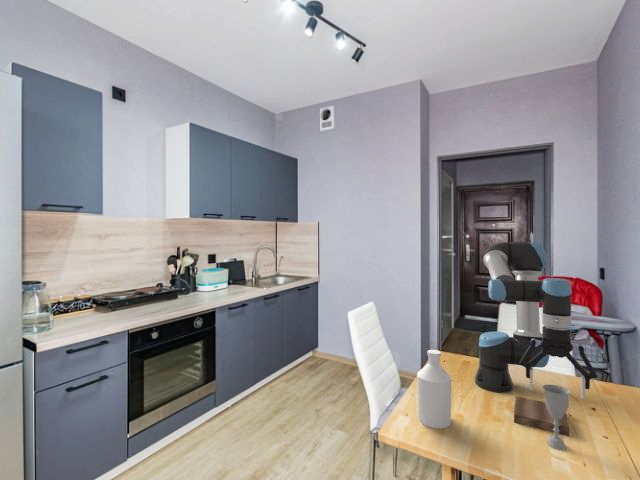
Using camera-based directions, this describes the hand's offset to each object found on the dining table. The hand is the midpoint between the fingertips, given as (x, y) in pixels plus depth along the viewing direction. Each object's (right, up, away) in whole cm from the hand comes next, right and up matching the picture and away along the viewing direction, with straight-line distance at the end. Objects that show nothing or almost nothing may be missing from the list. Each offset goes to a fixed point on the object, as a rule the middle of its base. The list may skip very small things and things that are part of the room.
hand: (556, 393), depth 108 cm
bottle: (-34, -17, +15) cm, 41 cm away
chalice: (0, -17, 0) cm, 17 cm away
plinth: (+5, -17, +16) cm, 23 cm away
